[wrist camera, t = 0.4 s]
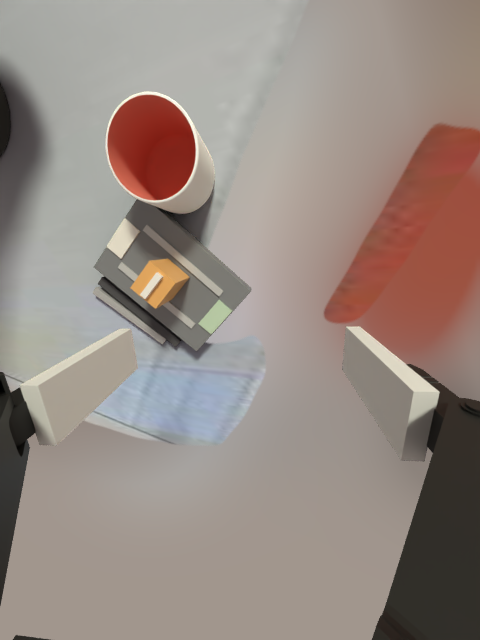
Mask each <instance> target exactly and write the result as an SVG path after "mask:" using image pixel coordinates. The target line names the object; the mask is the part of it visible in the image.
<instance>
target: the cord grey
mask: <svg viewBox="0 0 480 640" xmlns="http://www.w3.org/2000/svg"><path fill="white" fill-rule="evenodd" d="M93 294H94V295H96V296H97V297H98V298H100V299H101V300H103V301H104V302H105V303H107V304H108V305H109V306H111V307H112V308H113V309H115V310H116V311H118V312H119V313H120V314H122V315H123V316H124V317H126V318H127V319H128V320H130V321H131V322H133V323H134V324H135V325H137V326H138V327H139V328H141V329H142V330H143V331H145V332H146V333H148V334H149V335H150V336H152V337H153V338H154V339H156V340H157V341H158V342H160V343H161V344H163V343H164V342H165V341H166V339H165V338H164V337H163V336H161V335H160V334H159V333H158V332H157V331H155V330H154V329H153V328H152V327H150V326H149V325H148V324H147V323H145V322H144V321H143V320H142V319H141V318H139V317H138V316H137V315H136V314H134V313H133V312H132V311H131V310H129V309H128V308H127V307H126V306H125V305H123V304H122V303H121V302H120V301H118V300H117V299H116V298H115V297H113V296H112V295H111V294H109V293H108V292H106V291H105V290H104V289H102V288H101V287H96V288H95V290H94V291H93Z"/></svg>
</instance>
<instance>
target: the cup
mask: <svg viewBox="0 0 480 640" xmlns="http://www.w3.org/2000/svg"><path fill="white" fill-rule="evenodd" d="M105 145H106V155H107V160H108V163H109V166H110V169H111V171H112V173H113V175H114V177H115V179H116V180H117V182H118V183H119V184H120V186H121V187H122V188H123V189H124V190H125V191H126V192H127V193H128V194H130V195H131V196H133V197H134V198H136V199H138V200H140V201H143V202H145V203H148V204H150V205H153V206H156V207H158V208H161V209H164V210H166V211H169V212H172V213H176V214H186V213H191V212H193V211H195V210H197V209H199V208H200V207H201V206H202V205H204V203H205V202H206V201H207V200H208V198H209V196H210V195H211V192H212V190H213V186H214V181H215V169H214V164H213V160H212V157H211V155H210V153H209V151H208V149H207V147H206V146H205V144H204V142H203V140H202V139H201V137H200V135H199V133H198V131H197V130H196V128H195V126H194V124H193V123H192V121H191V119H190V117H189V116H188V114H187V113H186V112H185V110H184V109H183V108H182V107H181V106H180V105H179V104H178V103H177V102H176V101H174V100H173V99H171V98H170V97H168V96H166V95H163V94H160V93H156V92H141V93H137V94H134V95H132V96H130V97H128V98H127V99H125V100H124V101H123V102H122V103H121V104H120V105H119V106H118V107H117V108H116V110H115V111H114V113H113V115H112V116H111V118H110V121H109V124H108V127H107V132H106V141H105Z"/></svg>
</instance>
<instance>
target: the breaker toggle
mask: <svg viewBox="0 0 480 640" xmlns="http://www.w3.org/2000/svg"><path fill="white" fill-rule="evenodd" d="M189 278H190V277H189V276H188V275H187V274H186V273H184V272H183V271H182V270H181V269H180V268H179V267H177V266H176V265H175V264H174V263H173V262H172V261H171V260H169V259H160V260H151V261H149V262H148V264H147V265H146V266H145V268H144V269H143V271H142V272H141V273H140V275H139V276H138V278H137V279H136V280H135V282H134V283H133V285H132V286H131V287H130V288H131V289H132V290H133V291H134V292H136V293H137V294H138V295H139V296H140V297H142V298H143V299H144V300H145V301H147V302H148V303H149V304H150V305H151V306H153V307H154V308H155V309H156V308H158V307H160V306H161V305H163V304H165V303H167V302H168V301H170V300H172V299H173V298H174V297H175V295H176V294H177V293H178V292H179V290H180V289H181V288H182V287H183V285H184V284H185V283H186V282H187V280H188V279H189Z"/></svg>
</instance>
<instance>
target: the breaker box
mask: <svg viewBox="0 0 480 640" xmlns="http://www.w3.org/2000/svg"><path fill="white" fill-rule="evenodd" d="M160 259H169V260H171V261H172V262H173V263H174V264H175V265H176V266H177V267H179V268H180V269H181V270H182V271H183V272H184V273H186V274H187V275H188V276H189V277H190V278H189V279H188V280H187V282H186V283H185V284H184V285H183V287H182V288H181V289H180V290H179V292H178V293H177V294H176V295H175V297H174V298H173V299H172V300H170V301H168V302H167V303H165V304H163V305H161V306H160V307H158V308H156V309H155V308H154V307H153V306H151V305H150V304H149V303H148V302H147V301H145V300H144V299H143V298H142V297H140V296H139V295H138V294H137V293H136V292H134V291H133V290H132V289H131V288H130V287H131V286H132V285H133V283H134V282H135V280H136V279H137V278H138V276H139V275H140V273H141V272H142V271H143V269H144V268H145V266H146V265H147V264H148V262H149V261H151V260H160ZM94 268H95V269H97V270H98V271H99V272H100V273H101V274H103V275H104V276H105V277H106V278H107V279H109V280H110V281H111V282H112V283H114V284H115V285H116V286H117V287H118V288H120V289H121V290H122V291H123V292H125V293H126V294H127V295H128V296H129V297H131V298H132V299H133V300H134V301H136V302H137V303H138V304H139V305H140V306H142V307H143V308H144V309H145V310H147V311H148V312H149V313H150V314H151V315H153V316H154V317H155V318H156V319H158V320H159V321H160V322H161V323H162V324H164V325H165V326H166V327H167V328H169V329H170V330H171V331H172V332H173V333H175V334H176V335H177V336H178V337H180V338H181V339H182V340H183V341H184V342H186V343H187V344H188V345H189V346H190V347H192V348H193V349H194V350H195V351H197V350H198V349H199V348H200V347H201V346H202V345H203V344H204V343H205V342H206V340H207V339H208V338H209V337H210V336H211V335H212V334H213V333H214V332H215V331H216V329H217V328H218V327H219V326H220V325H221V324H222V323H223V322H224V320H225V319H226V318H227V317H228V316H229V315H230V314H231V313H232V312H233V310H234V309H235V308H236V307H237V306H238V305H239V304H240V303H241V302H242V301H243V300H244V298H245V297H246V296H247V295H248V294H249V293H250V292H251V287H249V286H248V285H247V284H246V283H245V282H244V281H243V280H242V279H240V278H239V277H238V276H237V275H236V274H235V273H234V272H233V271H231V270H230V269H229V268H228V267H227V266H226V265H225V264H223V262H221V261H220V260H219V259H218V258H217V257H216V256H215V255H213V254H212V253H211V252H210V251H209V250H208V249H207V248H206V247H205V246H204V245H202V244H201V243H200V242H199V241H198V240H197V239H196V238H195V237H193V236H192V235H191V234H190V233H189V232H188V231H187V230H186V229H184V228H183V227H182V226H181V225H180V224H179V223H178V222H177V221H176V220H174V219H173V218H172V217H171V216H170V215H169V214H168V213H167V212H165V211H164V210H163V209H161V208H158V207H156V206H153V205H150V204H148V203H145V202H143V201H140V200H138V199H137V200H136V202H135V203H134V205H133V206H132V208H131V209H130V211H129V212H128V214H127V216H126V217H125V218H124V220H123V221H122V223H121V224H120V226H119V227H118V229H117V231H116V232H115V234H114V235H113V237H112V238H111V240H110V242H109V243H108V245H107V246H106V249H105V250H104V252H103V253H102V255H101V256H100V258H99V259H98V261H97V263H96V264H95V266H94Z"/></svg>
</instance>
